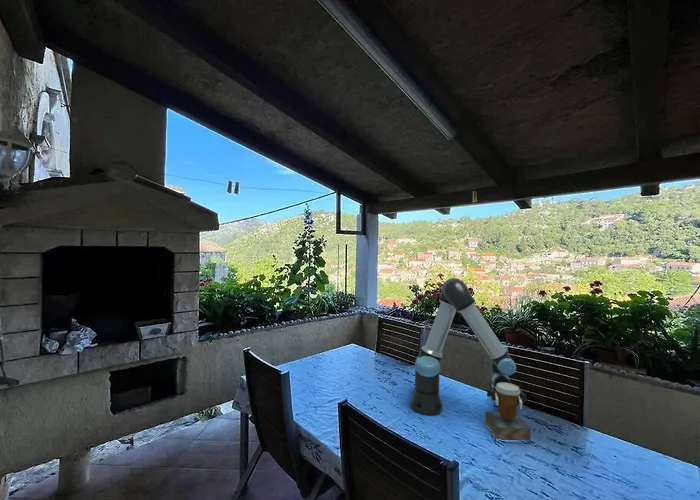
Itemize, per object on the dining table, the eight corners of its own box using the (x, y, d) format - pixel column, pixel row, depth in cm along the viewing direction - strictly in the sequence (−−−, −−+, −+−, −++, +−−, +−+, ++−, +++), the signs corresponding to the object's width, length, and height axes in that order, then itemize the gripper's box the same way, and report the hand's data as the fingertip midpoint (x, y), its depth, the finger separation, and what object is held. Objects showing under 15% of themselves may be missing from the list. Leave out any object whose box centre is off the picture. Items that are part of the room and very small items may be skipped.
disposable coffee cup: (506, 421, 132) (506, 392, 132) (490, 410, 141) (490, 382, 141) (525, 419, 135) (525, 389, 135) (508, 408, 144) (508, 381, 144)
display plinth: (497, 441, 132) (497, 426, 132) (485, 424, 145) (485, 411, 145) (530, 443, 131) (530, 428, 131) (515, 426, 144) (515, 412, 144)
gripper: (526, 394, 152) (538, 417, 130) (478, 387, 158) (481, 408, 137) (526, 378, 152) (538, 398, 130) (478, 372, 158) (481, 390, 137)
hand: (509, 403), depth 133 cm, fingers closed on disposable coffee cup, 8 cm apart
